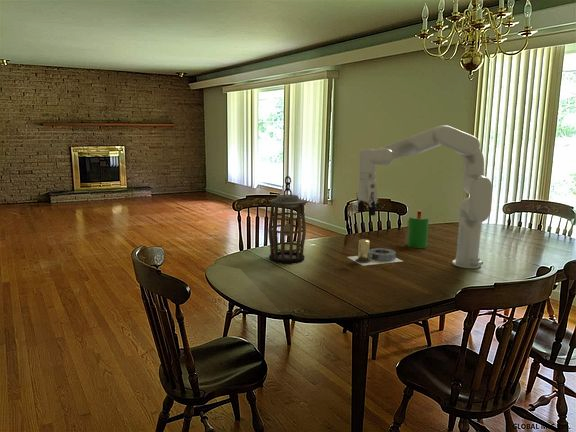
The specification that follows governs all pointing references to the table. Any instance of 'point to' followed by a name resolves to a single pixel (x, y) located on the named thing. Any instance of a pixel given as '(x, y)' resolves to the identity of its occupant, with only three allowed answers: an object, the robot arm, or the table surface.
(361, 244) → the brass round-ended cylinder
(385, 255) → the ring
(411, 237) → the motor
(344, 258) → the table surface
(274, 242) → the lantern
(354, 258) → the base plate
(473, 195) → the robot arm
